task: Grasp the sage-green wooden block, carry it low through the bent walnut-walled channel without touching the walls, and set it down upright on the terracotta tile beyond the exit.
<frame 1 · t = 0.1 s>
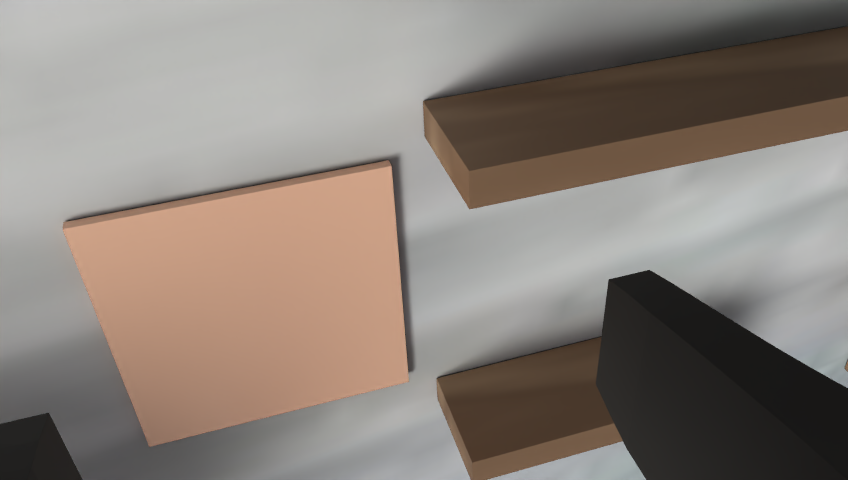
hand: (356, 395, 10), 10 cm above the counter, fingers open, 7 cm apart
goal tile: (260, 309, 22), on the counter
channel: (602, 346, 27), on the counter
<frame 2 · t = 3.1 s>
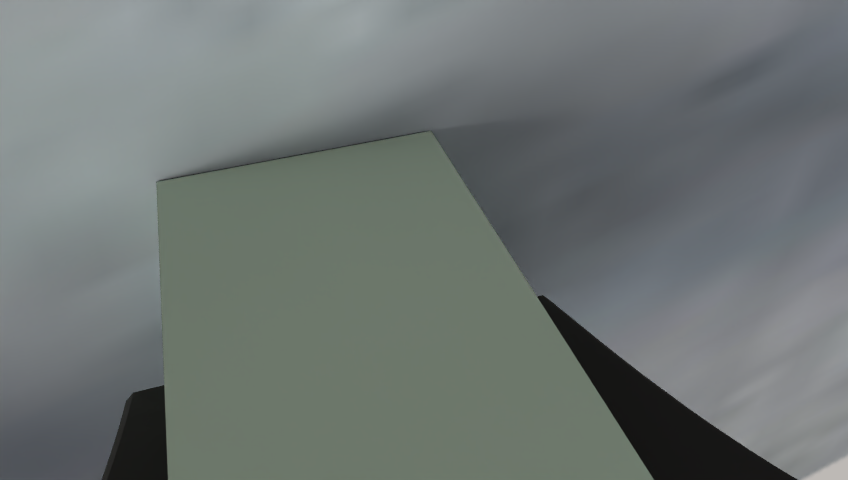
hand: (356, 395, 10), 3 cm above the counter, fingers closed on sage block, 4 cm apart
sage block: (316, 263, 12), on the counter, touching gripper
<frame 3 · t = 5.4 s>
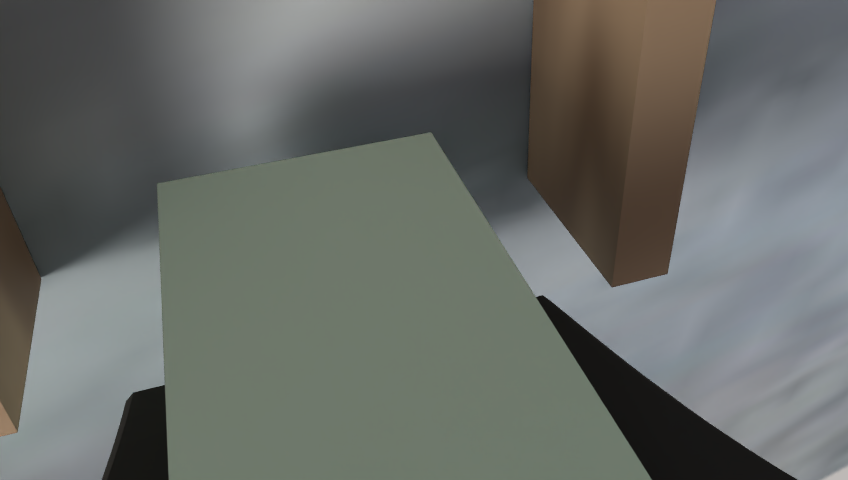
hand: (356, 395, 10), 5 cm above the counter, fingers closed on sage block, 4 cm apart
sage block: (316, 264, 13), point 2 cm above the counter, touching gripper
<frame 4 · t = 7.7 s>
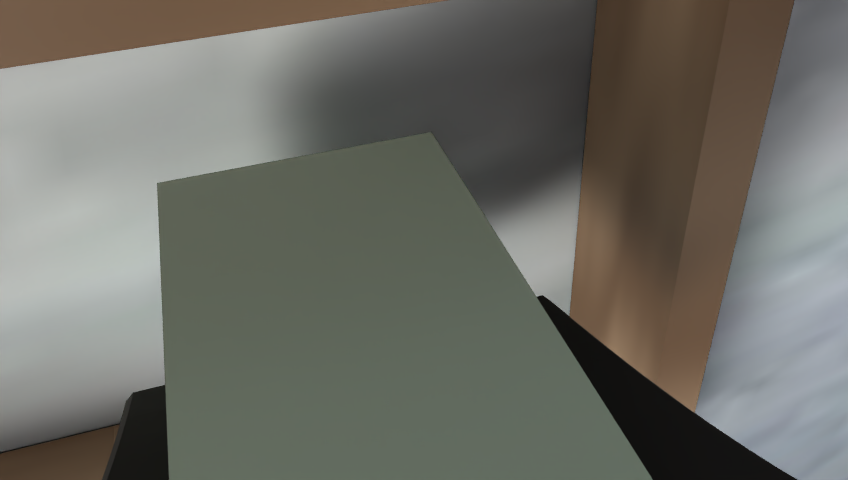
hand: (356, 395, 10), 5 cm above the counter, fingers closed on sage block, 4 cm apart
sage block: (316, 264, 13), point 2 cm above the counter, touching gripper
channel: (44, 460, 16), on the counter
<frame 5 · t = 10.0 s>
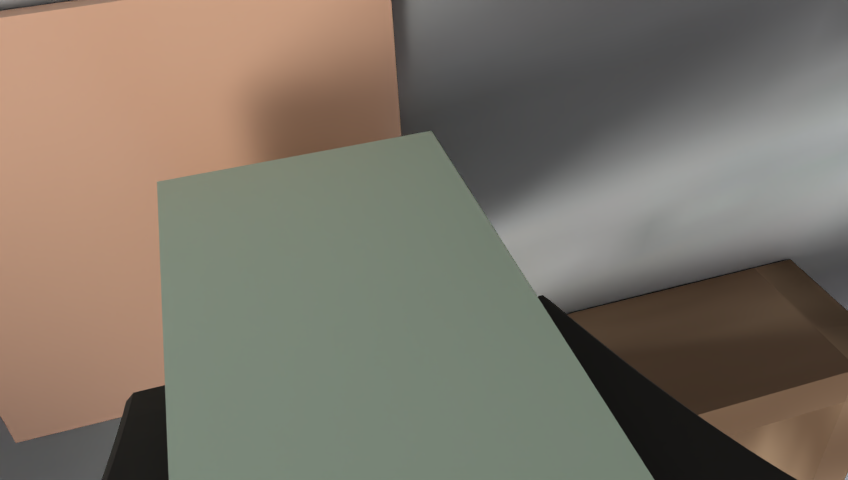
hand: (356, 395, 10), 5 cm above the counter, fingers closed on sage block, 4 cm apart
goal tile: (178, 222, 14), on the counter
sage block: (316, 263, 12), point 2 cm above the counter, touching gripper
channel: (695, 297, 19), on the counter
when the fingers open (4 cm above the counter, at t = 12.2 s): sage block stays where it is, resting on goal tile.
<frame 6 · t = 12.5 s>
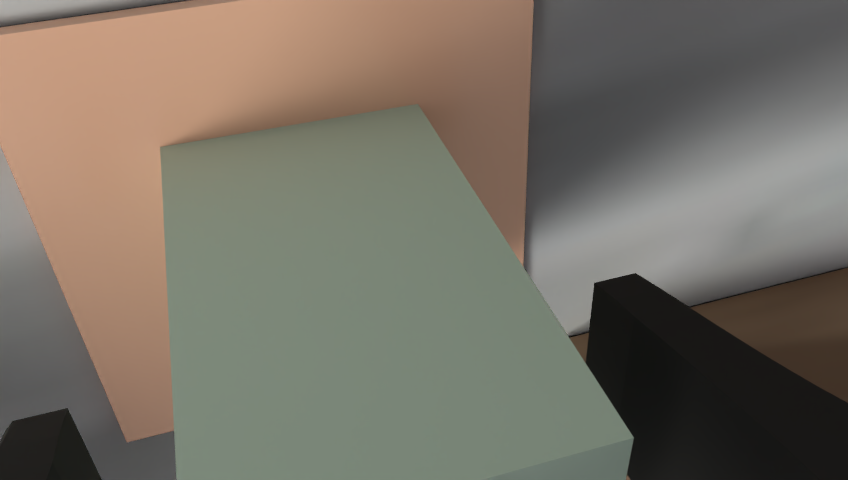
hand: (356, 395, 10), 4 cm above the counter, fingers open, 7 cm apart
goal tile: (303, 219, 13), on the counter
sage block: (309, 229, 13), resting on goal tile
channel: (787, 297, 19), on the counter
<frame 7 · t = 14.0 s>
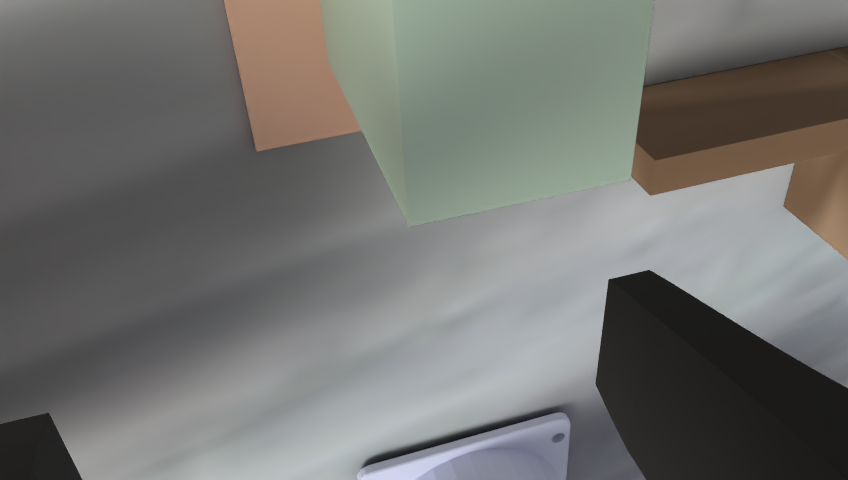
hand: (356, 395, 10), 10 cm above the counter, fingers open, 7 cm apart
channel: (776, 75, 23), on the counter
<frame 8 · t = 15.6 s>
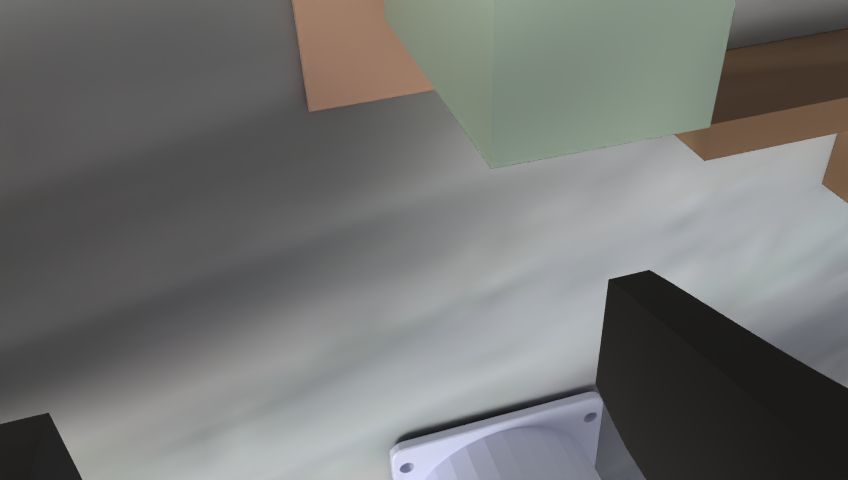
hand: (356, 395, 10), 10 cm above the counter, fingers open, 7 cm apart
channel: (822, 48, 23), on the counter
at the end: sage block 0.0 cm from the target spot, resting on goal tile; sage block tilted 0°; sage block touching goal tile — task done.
